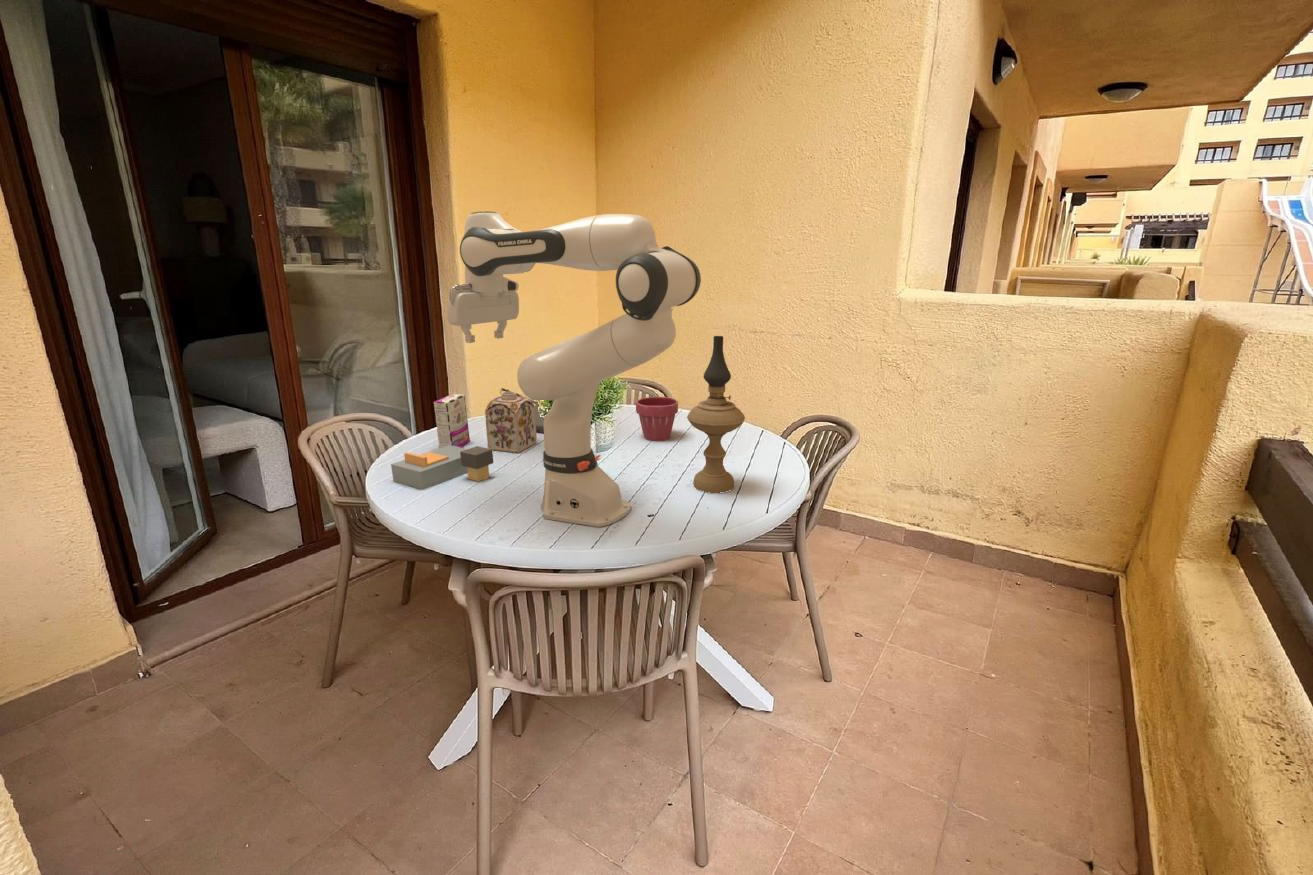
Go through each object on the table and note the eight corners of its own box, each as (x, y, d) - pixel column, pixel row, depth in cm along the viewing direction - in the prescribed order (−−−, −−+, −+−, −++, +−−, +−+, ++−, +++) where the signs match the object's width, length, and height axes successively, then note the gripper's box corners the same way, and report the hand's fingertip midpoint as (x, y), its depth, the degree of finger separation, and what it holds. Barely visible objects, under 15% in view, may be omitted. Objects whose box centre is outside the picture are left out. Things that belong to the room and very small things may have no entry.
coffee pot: (564, 425, 214) (562, 385, 210) (558, 434, 203) (556, 392, 199) (507, 424, 215) (504, 384, 211) (498, 433, 204) (494, 391, 200)
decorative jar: (487, 450, 186) (482, 395, 181) (506, 439, 197) (502, 387, 192) (519, 453, 183) (515, 397, 177) (538, 443, 193) (535, 390, 188)
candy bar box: (456, 441, 195) (451, 393, 190) (470, 442, 194) (465, 394, 189) (438, 451, 185) (432, 401, 180) (452, 452, 184) (447, 402, 179)
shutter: (448, 458, 162) (447, 449, 162) (424, 467, 156) (423, 457, 155) (429, 454, 166) (428, 445, 166) (405, 462, 160) (404, 453, 159)
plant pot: (629, 440, 196) (628, 403, 193) (646, 429, 209) (645, 394, 205) (668, 445, 191) (668, 407, 187) (683, 434, 204) (684, 398, 200)
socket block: (479, 467, 170) (478, 451, 169) (422, 489, 154) (420, 472, 152) (451, 460, 176) (449, 444, 175) (393, 481, 160) (390, 464, 158)
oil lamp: (727, 500, 147) (733, 342, 135) (675, 489, 154) (677, 337, 143) (750, 482, 159) (758, 335, 148) (701, 472, 167) (705, 331, 155)
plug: (494, 476, 164) (492, 449, 161) (478, 483, 159) (475, 455, 156) (479, 472, 166) (476, 446, 164) (462, 479, 161) (460, 451, 159)
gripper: (459, 286, 130) (460, 347, 135) (523, 283, 147) (522, 337, 152) (439, 283, 133) (442, 342, 138) (505, 280, 150) (504, 333, 154)
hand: (484, 340), depth 145 cm, fingers open, 8 cm apart
